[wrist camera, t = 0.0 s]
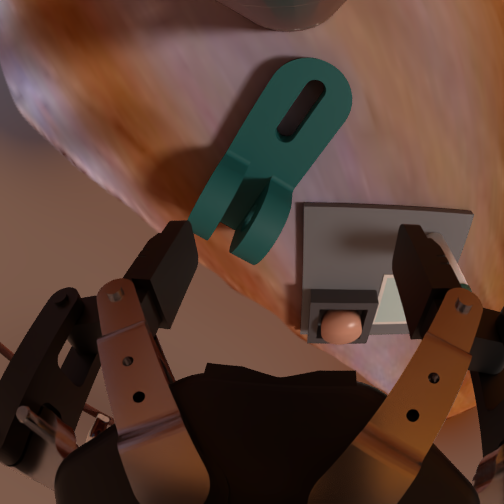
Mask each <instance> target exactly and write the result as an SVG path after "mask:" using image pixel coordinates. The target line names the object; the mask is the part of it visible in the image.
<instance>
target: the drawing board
mask: <svg viewBox="0 0 504 504" xmlns="http://www.w3.org/2000/svg"><path fill="white" fill-rule="evenodd" d="M473 217H474V214H473V213H472V211H466V210H455V209H442V208H428V207H412V206H394V205H373V204H346V203H304V246H303V285H302V311H301V332H300V334H308V340H307V343H329V342H327V341H325V340H324V339H323V338H322V336H321V318H322V316H323V315H324V313H326V312H327V311H328V310H330V309H335V310H356V311H357V312H358V313H359V314H360V318H361V326H362V333H361V335H360V336H359V338H357V339H356V340H355V341H353V342H350V343H347V344H357V343H366V342H367V339H368V336H369V335H382V334H409V330H408V326H407V322H406V318H405V314H404V311H403V307H402V303H401V300H400V296H399V293H398V289H397V286H396V282H395V279H394V276H393V272H392V259H393V254H394V249H395V245H396V240H397V235H398V230H399V227H400V225H401V224H415V225H420V226H421V227H422V229H423V231H424V233H425V235H428V234H429V233H433V232H437V233H440V234H441V235H442V236H443V238H444V239H445V241H446V243H447V245H448V247H449V249H450V250H451V252H452V254H453V256H454V258H455V260H456V262H457V263H458V261H459V258H460V255H461V253H462V250H463V247H464V244H465V241H466V238H467V235H468V232H469V229H470V226H471V223H472V220H473Z"/></svg>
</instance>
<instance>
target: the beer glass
mask: <svg viewBox="0 0 504 504" xmlns="http://www.w3.org/2000/svg"><path fill="white" fill-rule="evenodd" d="M110 420H111V418H110V417H108V416H106V415H104V414H102V413H99V412H98V413H97V418H96V421H95V422H94V424H93V426H92V427H91V429H90V431H89V433H88V436H87V439H86V442H88V441H89V440H91V439H92V438H94V437H95V436H97V435H98V434H100V433H101V432H103V431H104V430H106V429H107V425H108V423H109V422H110Z"/></svg>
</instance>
